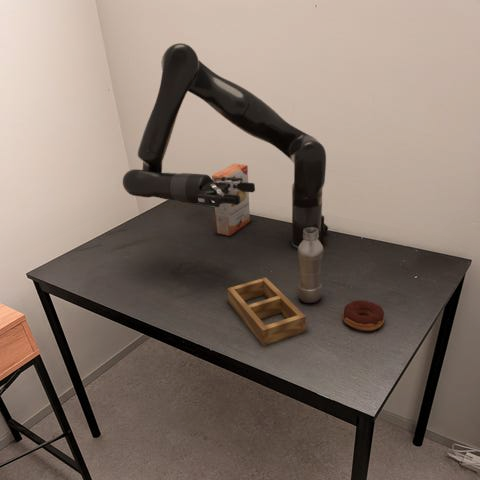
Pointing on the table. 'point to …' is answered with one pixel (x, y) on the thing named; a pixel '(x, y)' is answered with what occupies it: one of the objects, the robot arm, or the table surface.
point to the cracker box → (232, 214)
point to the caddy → (266, 311)
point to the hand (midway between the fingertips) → (247, 193)
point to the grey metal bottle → (310, 266)
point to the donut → (357, 320)
